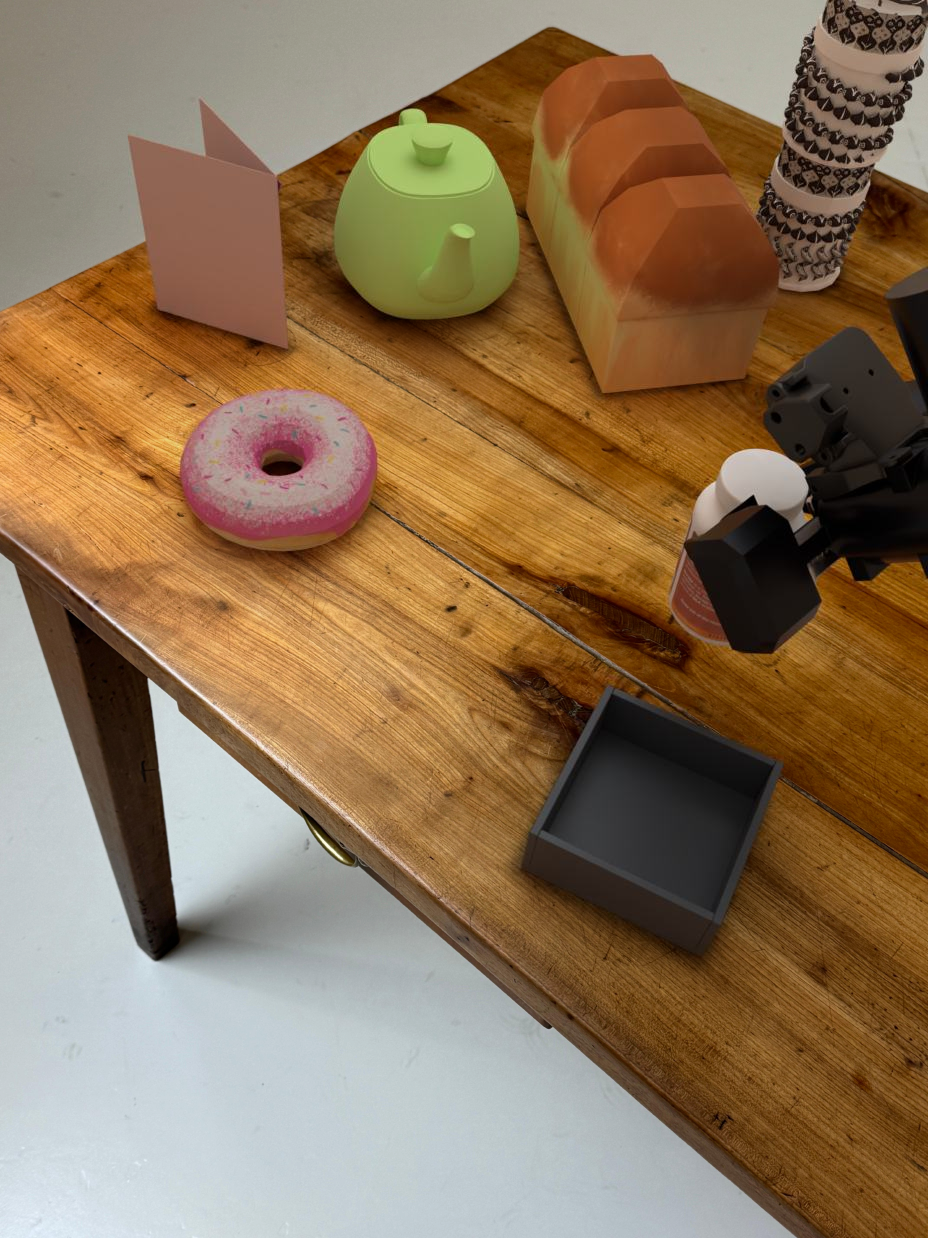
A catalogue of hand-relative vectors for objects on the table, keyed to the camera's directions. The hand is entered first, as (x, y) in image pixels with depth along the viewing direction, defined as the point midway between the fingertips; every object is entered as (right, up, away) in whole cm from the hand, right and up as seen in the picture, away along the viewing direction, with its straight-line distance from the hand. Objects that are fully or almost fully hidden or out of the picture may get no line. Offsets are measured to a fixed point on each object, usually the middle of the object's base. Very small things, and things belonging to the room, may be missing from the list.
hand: (725, 521), depth 66 cm
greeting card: (-34, +18, +28) cm, 47 cm away
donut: (-27, +3, +17) cm, 32 cm away
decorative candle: (+14, +26, +37) cm, 48 cm away
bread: (-1, +22, +33) cm, 40 cm away
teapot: (-18, +22, +32) cm, 43 cm away
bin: (-4, -18, +3) cm, 19 cm away
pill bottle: (+1, -5, +5) cm, 7 cm away
